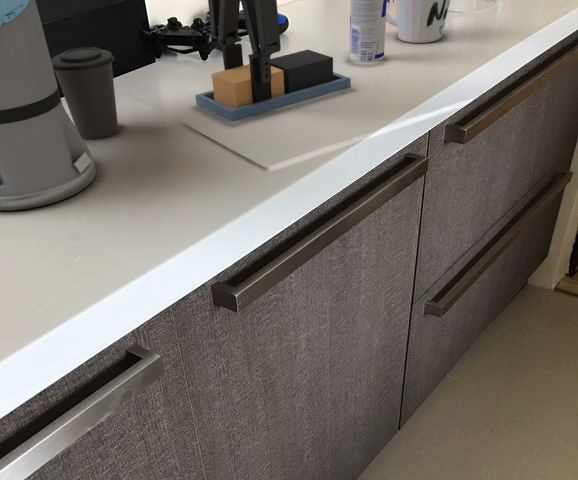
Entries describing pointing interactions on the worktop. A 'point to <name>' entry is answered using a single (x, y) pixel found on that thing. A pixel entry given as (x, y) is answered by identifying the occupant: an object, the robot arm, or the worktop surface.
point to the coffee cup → (88, 90)
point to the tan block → (242, 86)
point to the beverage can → (367, 30)
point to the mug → (420, 19)
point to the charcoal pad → (304, 70)
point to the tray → (273, 103)
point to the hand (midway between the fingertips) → (249, 100)
